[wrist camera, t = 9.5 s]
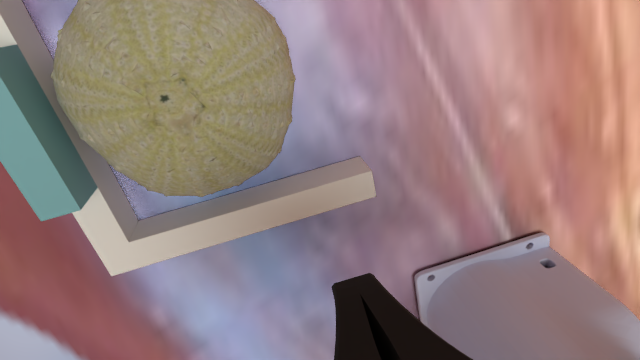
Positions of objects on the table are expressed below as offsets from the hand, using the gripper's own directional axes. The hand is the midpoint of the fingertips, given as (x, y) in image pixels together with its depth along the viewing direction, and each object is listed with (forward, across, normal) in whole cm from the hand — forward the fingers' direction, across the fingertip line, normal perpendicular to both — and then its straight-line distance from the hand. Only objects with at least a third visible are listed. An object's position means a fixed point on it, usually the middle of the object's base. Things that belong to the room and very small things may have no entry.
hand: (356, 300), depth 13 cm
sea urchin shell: (+9, +4, -7) cm, 12 cm away
